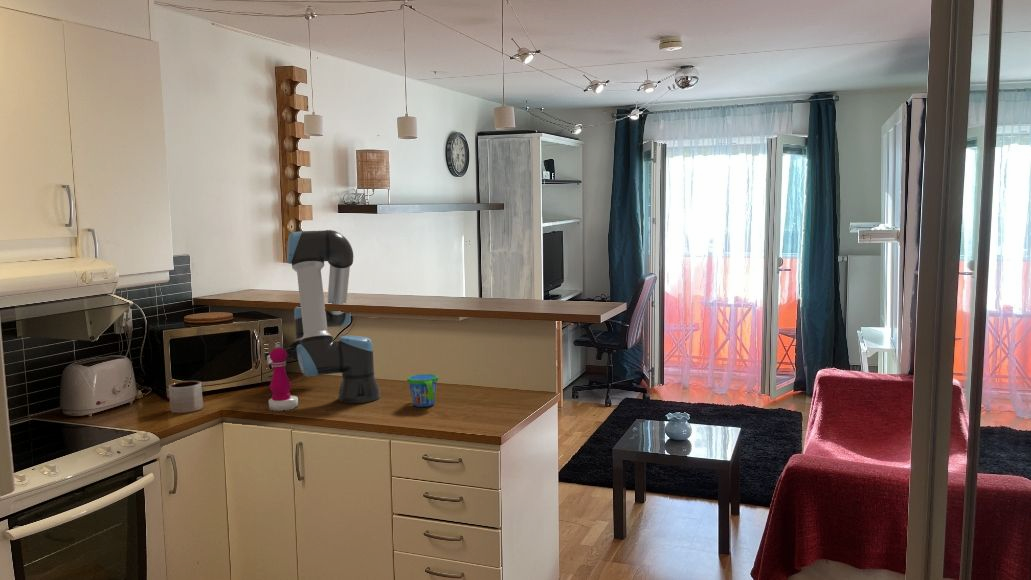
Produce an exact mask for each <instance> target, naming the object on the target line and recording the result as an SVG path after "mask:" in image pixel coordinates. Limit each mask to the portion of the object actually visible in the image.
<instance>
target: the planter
mask: <svg viewBox="0 0 1031 580" xmlns="http://www.w3.org/2000/svg"><path fill="white" fill-rule="evenodd" d="M168 392H169V393H168V394H169V408H170V409H169V410H170V412H171V413H174V414H178V413H182V414H189V413H190V412H191V413H194V412H198V411H201V410H202V409H203V408H204V400H203V391H202V381H199V380H184V381H183V380H182V381H177V382H174V383H170V384H169V385H168Z"/></svg>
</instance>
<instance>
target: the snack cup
mask: <svg viewBox="0 0 1031 580" xmlns="http://www.w3.org/2000/svg"><path fill="white" fill-rule="evenodd" d="M406 379H407V383H408V385H409V389H410V395H411V400H412V403H413V405H414V406H415V407H419V408H425V407H431V406H433V405H435V404H436V393H437V382H438V381H439V376H438V375H437V374H434V373H420V374H413V375H411V376H408V377H407V378H406Z"/></svg>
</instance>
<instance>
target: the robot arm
mask: <svg viewBox="0 0 1031 580" xmlns="http://www.w3.org/2000/svg"><path fill="white" fill-rule="evenodd" d="M286 248H287V249H286V250H287V251H286V262H287V264H289V265H291V269H292V270H293V271H294V272H296V275H297V276H296V277H297V287H298V294H299V302H300V305H299V306H301V307H298V306H295V308H294V316H293V319H294V327H295V328H294V329H295V339H294V341H293V342H292V343H290V345H289V347H288V348H284V349H285V350H286V352H287V358H286V359H289V358H291V359H293V360H297V361H298V365H299V368H300V372H301V373H302V374H303V376H306V377H314V376H315V377H318V376H324V375H334V374H341V382H340V387H339V392H338V394H337V395H338V396H337V397H338V401H339V402H340V403H342V402H343V404H364V403H370V402H374V401H377V400H378V399H381V390H380V389H379V385H378V383H377V380H376V377H375V366H374V365H375V364H374V345H373V340H371V339H370V338H369V337H366V336H361V335H340V337H339V340H335V341H334V337H333V334H330V332H329V331H328V330H329V329H328V328H333V327H335V328H336V327H343V326H344V327H345V326H348V325H350V323H351V322H352V320H351V318H352V317H351V316H352V315H351V313H350V314H346V313H344V312H341V311H333V310H332V311H331V310H330V311H325V309H326V306H325V305H326V304H325V296H324V289H323V288H324V287H323V279H322V272H321V271H322V269H323V268H324V266H325V262H327V263H328V264H329V274H328V288H327V289H328V290H327V302H328V303H332V304H343V303H346V304H347V300H348V292H349V291H348V289H349V282H350V281H349V278H350V271H351V267H352V265H353V264H354V263H353V262H354V258H355V257H354V256H355V255H354V250H353V247H352V245H351V243H350V242H349V240H348V238H346V237H345V236H344V235H343V234H342V233H340V232H338V231H336V230H332V229H326V230H300V231H293V232H291V233H289V235H288V238H287V247H286ZM270 352H271V351H268V352H265V353H264V360H265V361H267V365H270V364H272V360H271V359H270Z"/></svg>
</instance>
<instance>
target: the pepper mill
mask: <svg viewBox="0 0 1031 580" xmlns="http://www.w3.org/2000/svg"><path fill="white" fill-rule="evenodd" d="M274 347H275V348H273V349H271V350H270V351H269V352H270V359H271V360H272V362H271V367H272V369H273V371H272V372H273V374H272V377H271V380H270V384H269V389H270V391H271V393H272V395H271V398H272V400H274V401H282V400H287V399H289V398H290V396H291V393H290V390H291V387H292V383H291V380H290V378H289V377H288V375H287V372H286V365H287V360H286V359H288V358H287V352H286V350H285V349H286V348H283V347H281V344H280V343H276V344H275V345H274Z"/></svg>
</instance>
